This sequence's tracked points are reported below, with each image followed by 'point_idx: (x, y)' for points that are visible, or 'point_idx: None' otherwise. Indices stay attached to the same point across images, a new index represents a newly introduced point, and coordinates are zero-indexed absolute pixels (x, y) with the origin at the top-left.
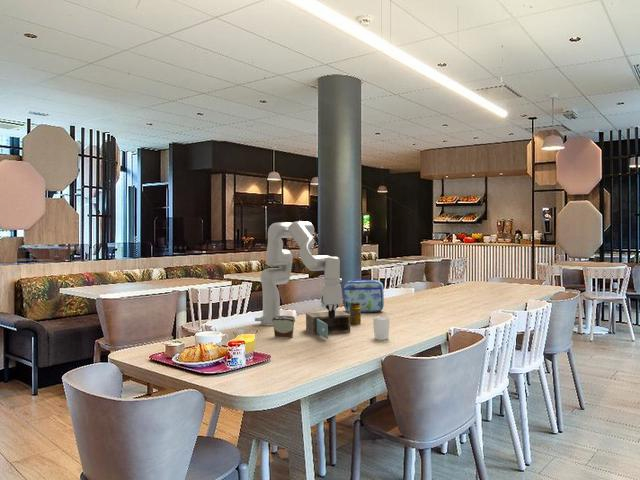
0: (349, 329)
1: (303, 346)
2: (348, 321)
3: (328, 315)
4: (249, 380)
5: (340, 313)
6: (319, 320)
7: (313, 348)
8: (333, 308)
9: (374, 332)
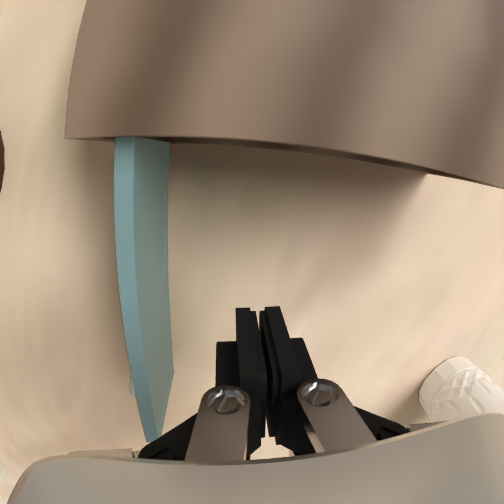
0: (433, 174)
1: (46, 401)
2: (467, 180)
3: (216, 353)
4: (5, 501)
5: (483, 54)
6: (120, 259)
7: (86, 440)
8: (298, 449)
9: (433, 403)
